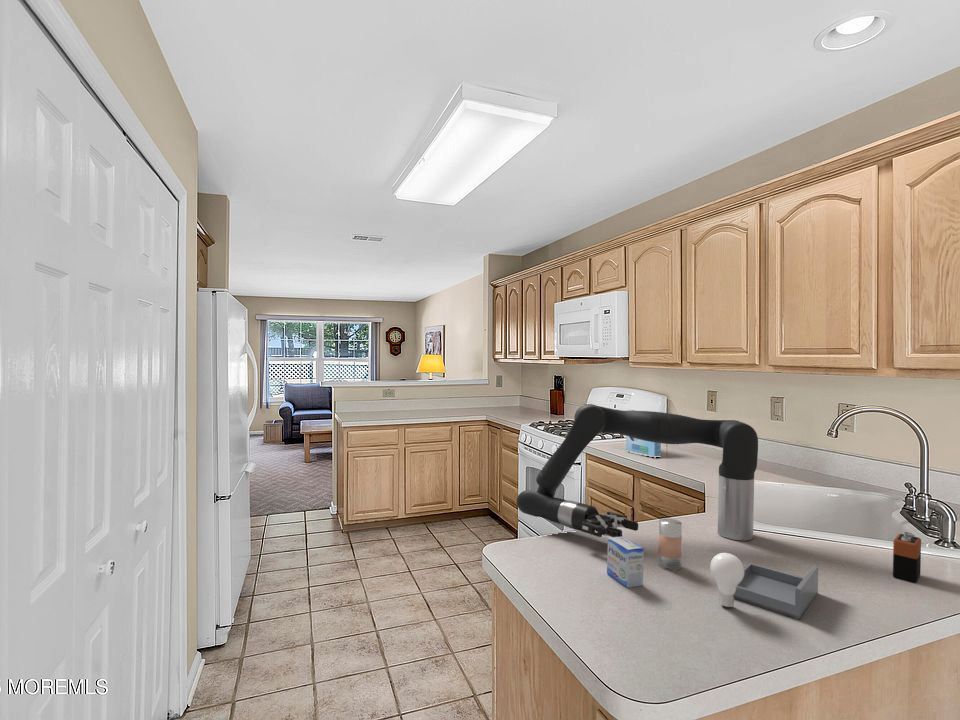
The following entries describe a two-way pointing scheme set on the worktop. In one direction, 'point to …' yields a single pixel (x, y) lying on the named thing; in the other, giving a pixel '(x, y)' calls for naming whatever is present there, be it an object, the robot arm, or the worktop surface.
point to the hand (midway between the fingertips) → (629, 530)
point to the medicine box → (625, 561)
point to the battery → (907, 557)
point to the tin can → (669, 544)
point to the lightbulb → (727, 576)
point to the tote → (778, 590)
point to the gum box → (643, 446)
